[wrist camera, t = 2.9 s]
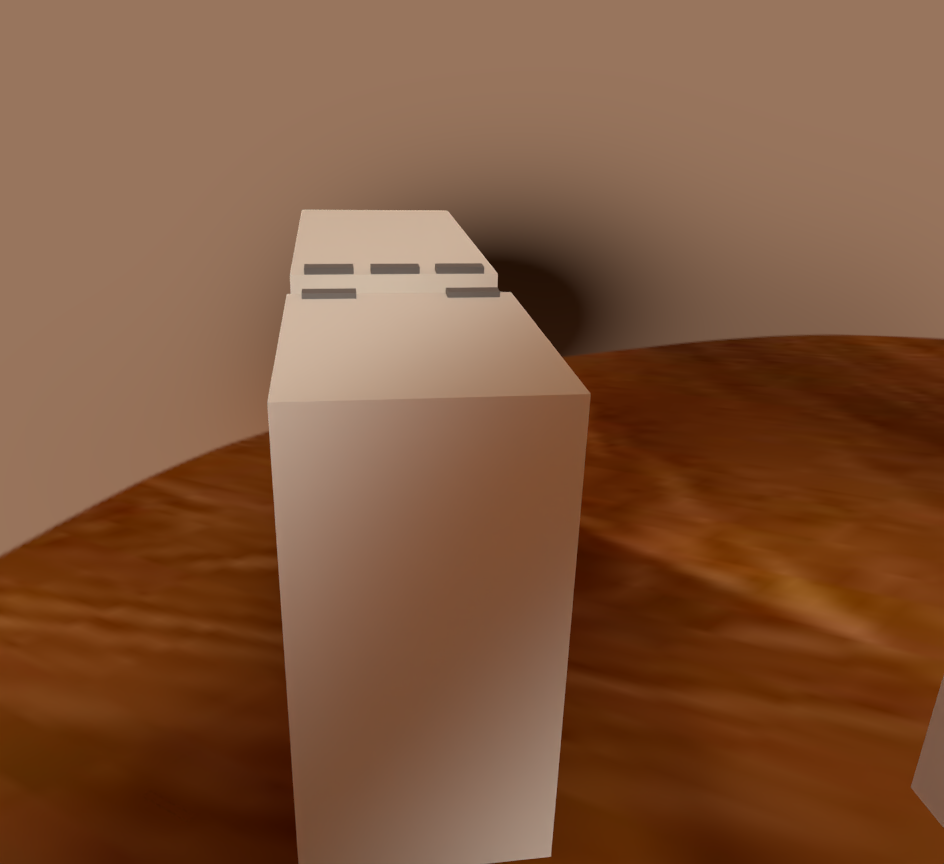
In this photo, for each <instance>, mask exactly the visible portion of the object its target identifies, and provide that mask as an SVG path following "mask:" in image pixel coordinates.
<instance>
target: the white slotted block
mask: <svg viewBox="0 0 944 864" xmlns="http://www.w3.org/2000/svg"><path fill="white" fill-rule="evenodd" d="M497 283H498V274H497V272H496V271H495V270H494V269H493V267H492V266H491V265H490V263H489V262H488V261H487V260H486V258H485V257H484V256H483V255H482V253H481V252H480V251H479V250H478V248H477V247H476V246H475V245H474V243H473V242H472V241H471V240H470V238H469V237H468V236H467V235H466V233H465V232H464V231H463V230H462V228H461V227H460V226H459V224H458V223H457V222H456V221H455V220H454V218H453V217H452V216H451V214H450V213H449V212H448V211H436V210H429V211H428V210H416V211H415V210H302V212H301V217H300V223H299V228H298V233H297V239H296V245H295V250H294V255H293V261H292V266H291V272H290V288H291V294H301V293H302V289H340V288H356V293H446V288H467V287H497Z"/></svg>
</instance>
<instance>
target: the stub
mask: <svg viewBox="0 0 944 864" xmlns="http://www.w3.org/2000/svg"><path fill="white" fill-rule="evenodd" d="M590 397H591V394H590V392H589V391H588V390H587V389H586V387H585V386H584V385H583V383H582V382H581V381H580V380H579V378H578V377H577V376H576V375H575V373H574V372H573V371H572V369H571V368H570V367H569V366H568V364H567V363H566V362H565V361H564V359H563V358H562V357H561V355H560V354H559V353H558V352H557V350H556V349H555V348H554V347H553V345H552V344H551V343H550V341H549V340H548V339H547V338H546V336H545V335H544V334H543V333H542V331H541V330H540V329H539V327H538V326H537V325H536V324H535V322H534V321H533V320H532V319H531V317H530V316H529V315H528V313H527V312H526V311H525V310H524V308H523V307H522V306H521V304H520V303H519V302H518V301H517V299H516V298H515V297H514V296H513V294H512V293H511V292H500V291H499V289H498V288H497V287H467V288H446V293H356V288H340V289H302V293H301V294H287V296H286V302H285V307H284V313H283V318H282V324H281V330H280V335H279V341H278V346H277V353H276V357H275V363H274V369H273V374H272V379H271V385H270V391H269V396H268V402H267V405H268V419H269V435H270V450H271V465H272V480H273V494H274V509H275V524H276V539H277V554H278V569H279V583H280V598H281V613H282V628H283V643H284V658H285V672H286V687H287V702H288V717H289V732H290V747H291V762H292V776H293V791H294V806H295V821H296V836H297V851H298V864H487V863H497V862H506V861H515V860H525V859H534V858H543V857H551V849H552V838H553V826H554V815H555V803H556V791H557V780H558V768H559V757H560V745H561V733H562V722H563V710H564V699H565V687H566V675H567V664H568V652H569V641H570V629H571V618H572V606H573V594H574V583H575V571H576V560H577V548H578V536H579V525H580V513H581V502H582V490H583V478H584V467H585V455H586V444H587V432H588V421H589V409H590Z"/></svg>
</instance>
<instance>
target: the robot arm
mask: <svg viewBox="0 0 944 864" xmlns="http://www.w3.org/2000/svg"><path fill="white" fill-rule="evenodd" d="M911 788H912V789H913V791H914V792H915V793H916V794H917V795H918V797H919V798H920V799H921V800H922V802H923V803H924V804H925V805H926V807H927V808H928V809H929V810H930V811H931V813H932V814H933V815H934V816H935V818H936V819H937V820H938V821H939V823H940V824H941V825H942V826H943V828H944V676H943V679H942V683H941V686H940V690H939V693H938V696H937V700H936V703H935V707H934V710H933V713H932V717H931V720H930V724H929V727H928V730H927V734H926V737H925V741H924V744H923V747H922V751H921V754H920V758H919V761H918V765H917V768H916V771H915V775H914V778H913V782H912V785H911Z"/></svg>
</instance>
